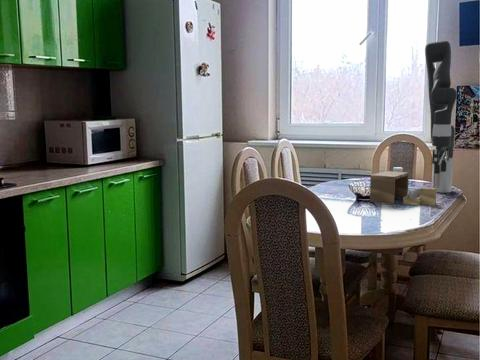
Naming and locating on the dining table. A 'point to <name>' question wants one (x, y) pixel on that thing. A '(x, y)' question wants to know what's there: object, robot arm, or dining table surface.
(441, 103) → the robot arm
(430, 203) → the tray
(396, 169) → the supplement bottle
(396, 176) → the brown cardboard box
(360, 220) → the dining table surface
